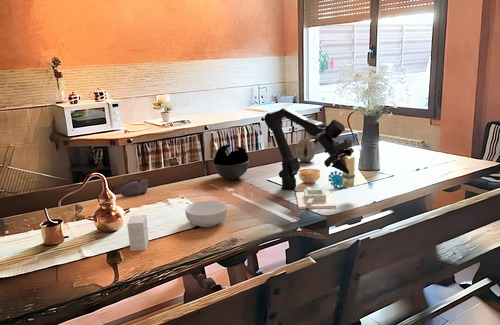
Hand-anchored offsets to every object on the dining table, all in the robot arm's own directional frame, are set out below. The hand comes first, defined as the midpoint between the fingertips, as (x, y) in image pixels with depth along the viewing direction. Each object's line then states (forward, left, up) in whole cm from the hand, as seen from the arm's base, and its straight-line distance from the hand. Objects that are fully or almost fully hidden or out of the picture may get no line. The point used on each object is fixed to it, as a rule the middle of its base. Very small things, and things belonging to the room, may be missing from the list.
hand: (351, 171), depth 192 cm
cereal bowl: (-62, -23, -14) cm, 68 cm away
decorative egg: (-14, +73, -13) cm, 75 cm away
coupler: (-1, +1, -7) cm, 7 cm away
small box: (-84, -43, -13) cm, 96 cm away
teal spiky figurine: (-2, +20, -14) cm, 24 cm away
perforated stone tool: (-104, +18, -14) cm, 106 cm away
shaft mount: (-16, +1, -13) cm, 21 cm away
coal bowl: (-57, +41, -13) cm, 71 cm away
